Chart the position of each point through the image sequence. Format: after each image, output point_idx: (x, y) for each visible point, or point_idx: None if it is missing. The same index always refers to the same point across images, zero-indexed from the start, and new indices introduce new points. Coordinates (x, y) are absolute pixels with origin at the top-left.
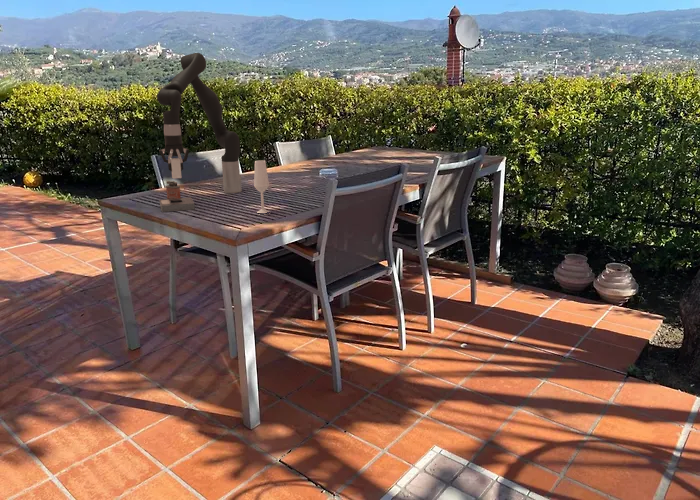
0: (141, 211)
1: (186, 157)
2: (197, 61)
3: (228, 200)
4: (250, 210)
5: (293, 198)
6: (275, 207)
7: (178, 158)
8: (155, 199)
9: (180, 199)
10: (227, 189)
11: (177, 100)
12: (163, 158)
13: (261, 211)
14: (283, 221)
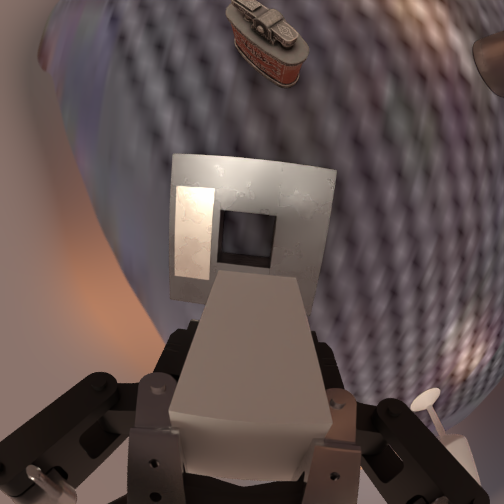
0: (110, 234)
1: (389, 471)
2: None
3: (461, 205)
4: (426, 374)
5: None
6: (475, 360)
7: (302, 450)
8: (190, 14)
9: (274, 197)
10: (490, 75)
11: None
12: (89, 445)
13: (420, 409)
14: None
